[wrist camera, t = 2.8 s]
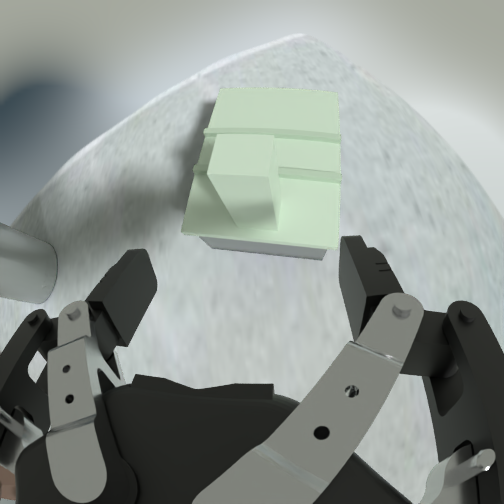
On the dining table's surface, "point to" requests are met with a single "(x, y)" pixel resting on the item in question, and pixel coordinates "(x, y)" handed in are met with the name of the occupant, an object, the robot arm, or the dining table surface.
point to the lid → (269, 169)
